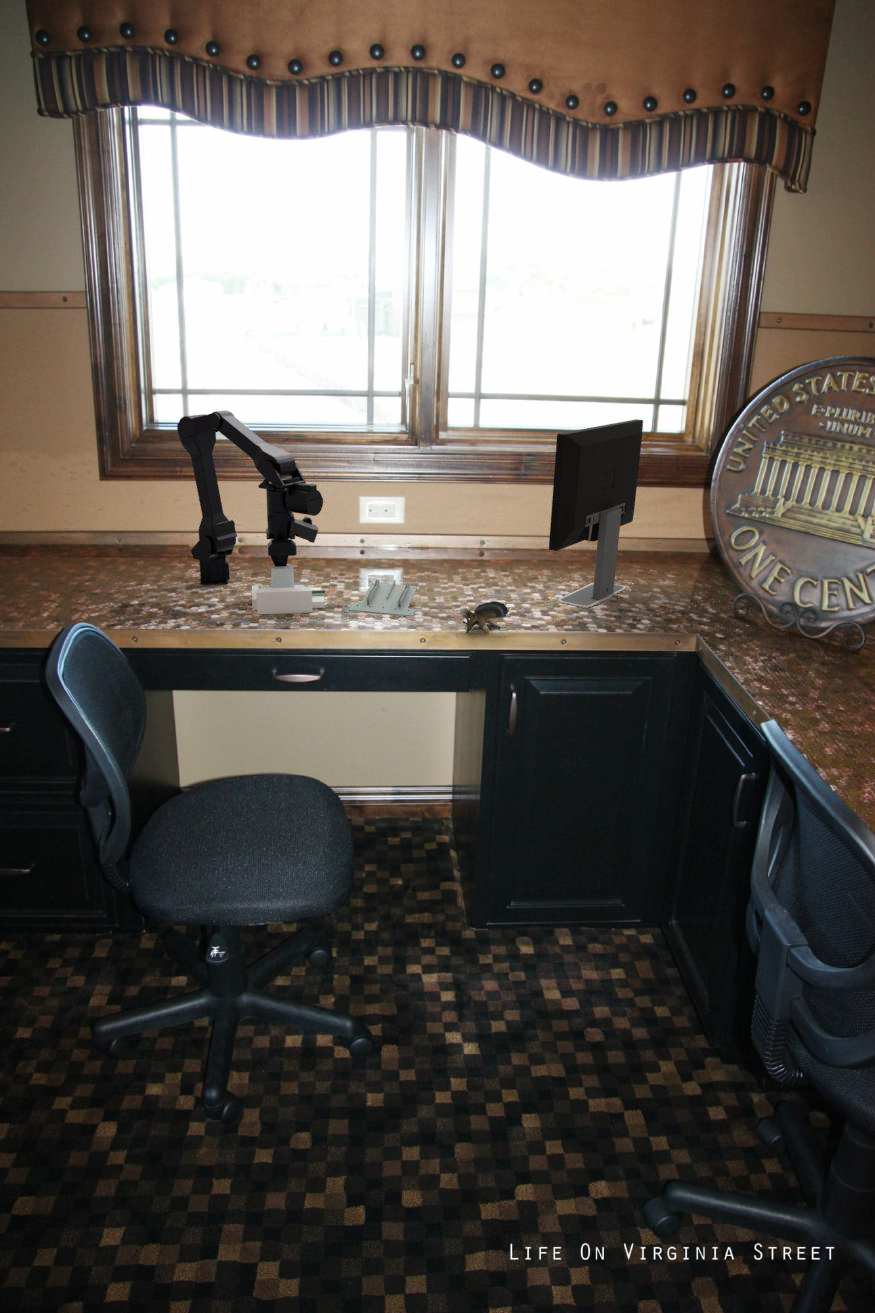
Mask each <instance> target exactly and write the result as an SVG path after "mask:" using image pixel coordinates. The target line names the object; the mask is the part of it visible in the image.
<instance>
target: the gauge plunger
mask: <svg viewBox="0 0 875 1313" xmlns="http://www.w3.org/2000/svg"><path fill="white" fill-rule="evenodd" d="M294 570H295V568H294V565H291V566H290V565H289V566H288V565H287V566H280V567H275V566H270V574H271V577H270V578H271V579H270V580H271V585H261V586H260V588H293V587H306V585H305V584H295V571H294ZM318 593H323V594H326V590H325V589H321V590H312V594H318Z"/></svg>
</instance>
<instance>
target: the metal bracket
mask: <svg viewBox="0 0 875 1313" xmlns="http://www.w3.org/2000/svg"><path fill="white" fill-rule="evenodd" d="M417 589H418V586H415V585H410V582H409V581H408V582H407V581H406V582H405V584H396V579H393V581H392V583H384V582H383V583H382V582H380V579H375V581H374V582H371V583H370V585H369V587H368V589H367V591H366V592H365V595H364V596H363V598H362V600H361V602H360V603H359V602H358V603H356V602H351V604H350V605H349V608H348V612H354V613H367V612H368V613H369V614H378V615H387V614H390V615H389V616H398V617H403V616H413V617H414V616H415V614H416V611H417V610H416V608H410V605H411V603H412V600H413V598H414V596H415V593H416V591H417Z"/></svg>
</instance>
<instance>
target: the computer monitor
mask: <svg viewBox="0 0 875 1313" xmlns="http://www.w3.org/2000/svg"><path fill="white" fill-rule="evenodd" d="M643 429H644V420H643V419H638V418H637V419H631V420H626V421H619V422H614V423H609V424H603V425H597V426H593V427H588V428H582V429H577V430H570V431H564V432H558V433H557V434H556V444H555V445H556V446H555V459H554V460H555V461H554V471H553V472H554V473H553V485H552V498H551V499H552V500H551V515H550V526H549V527H550V528H549V542H548V550H549V551H553V552H554V551H555V552H558V551H560V550H564V549H565V548H569V547H571V546H573V545H575V544H578V543H581V542H584V541H586V542H588V543H590V542H597V544H596V552H595V553H596V554H595V555H596V556H595V564H594V565H595V566H594V576H593V582H591V583H590V584H587V585H585V586H583V587H581V588H578V589H577V590H575V591H572V592H570V593H568V594H566V595H564V596H561V597H560V598H558V602H559V603H560V604H563V603H564V604H563V605H567V604H570V605H569V606H572V605H573V607H576V606H579V607H578V608H581V607H582V608H584V609H589V607H590V608H592V606H593V607H594V605H595V606H596V605H598V604H600V603H602V602H604V601H606V600H608V599H609V598H612V597H614V596H616V595H618V594H619V593H622V592H624V591H625V590H626V587H625V586H624V585H622V584H617V583H616V584H615V582H616V581H615V580H616V569H617V561H618V560H617V559H618V552H619V550H618V549H619V539H620V530H621V527H622V526H625V525H627V524H630V523H632V522H633V520H634V516H635V514H634V513H635V506H636V496H637V487H638V480H639V478H638V477H639V469H640V458H641V449H642V440H643V432H644V431H643ZM621 591H622V592H621ZM617 593H618V594H617ZM613 595H614V596H613ZM582 608H581V609H582Z"/></svg>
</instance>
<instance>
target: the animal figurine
mask: <svg viewBox="0 0 875 1313" xmlns="http://www.w3.org/2000/svg"><path fill="white" fill-rule="evenodd" d="M459 614H460V615H461V616H462V618H464V619H466V621H462V624H465V625H466V634H468V633H469V632H470V631H472V630H473V627H475V626H476V625H477V626H478V627H480V628H482V630H484V631H485V632H486V633H487V634H489V633H490V631H489V630H490V629H489V626H488V625H487V624H489V625H492V626H494V627H497V628H501V626H500V625H499V626H498V624H496V623H495V622H494V621H493V619H497V618H498V619H499V618H501V619H502V618H505V617H507V615H508V614H509V609H508V607H507V605H506V604H504V603H502V602H500V601H495V600H494V601H490V602H485V603H481V604H478V606H477V607H475V609H474V611H473V612H472V611H471V610H470V609H469V608H466V607H465V608H462V609H460V610H459Z"/></svg>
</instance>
